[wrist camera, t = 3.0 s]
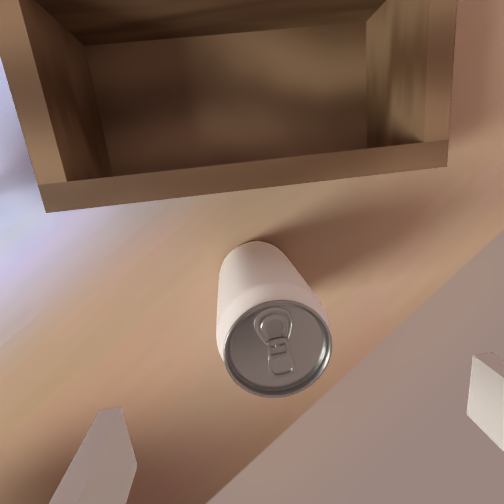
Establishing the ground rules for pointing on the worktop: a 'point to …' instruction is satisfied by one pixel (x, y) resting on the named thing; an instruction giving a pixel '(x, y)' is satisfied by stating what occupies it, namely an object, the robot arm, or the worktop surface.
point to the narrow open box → (224, 93)
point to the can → (269, 323)
